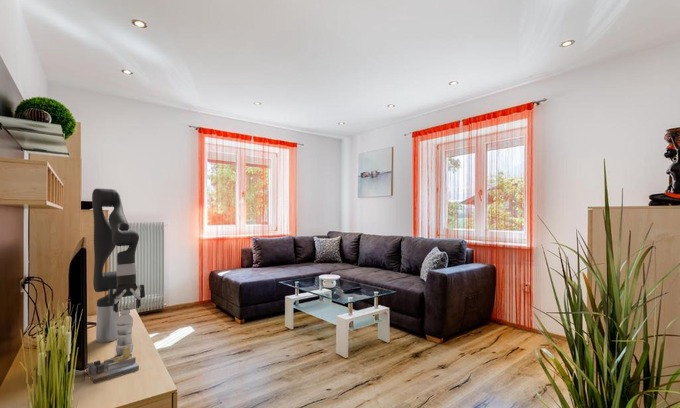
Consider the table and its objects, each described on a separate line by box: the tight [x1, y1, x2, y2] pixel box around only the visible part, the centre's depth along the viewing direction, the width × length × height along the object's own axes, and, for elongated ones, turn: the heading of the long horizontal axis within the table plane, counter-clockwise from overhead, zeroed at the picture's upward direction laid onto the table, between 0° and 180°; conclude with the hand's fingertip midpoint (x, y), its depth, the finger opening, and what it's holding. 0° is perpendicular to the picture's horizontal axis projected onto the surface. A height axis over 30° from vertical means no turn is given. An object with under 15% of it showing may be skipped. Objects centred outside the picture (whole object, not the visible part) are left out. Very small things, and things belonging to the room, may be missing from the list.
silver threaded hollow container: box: [115, 307, 134, 356], centre depth 150 cm, size 6×7×20 cm
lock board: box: [85, 352, 140, 384], centre depth 135 cm, size 14×15×4 cm
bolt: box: [112, 346, 131, 363], centre depth 138 cm, size 3×6×6 cm, turn 138°
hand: (127, 310), depth 153 cm, fingers open, 8 cm apart
